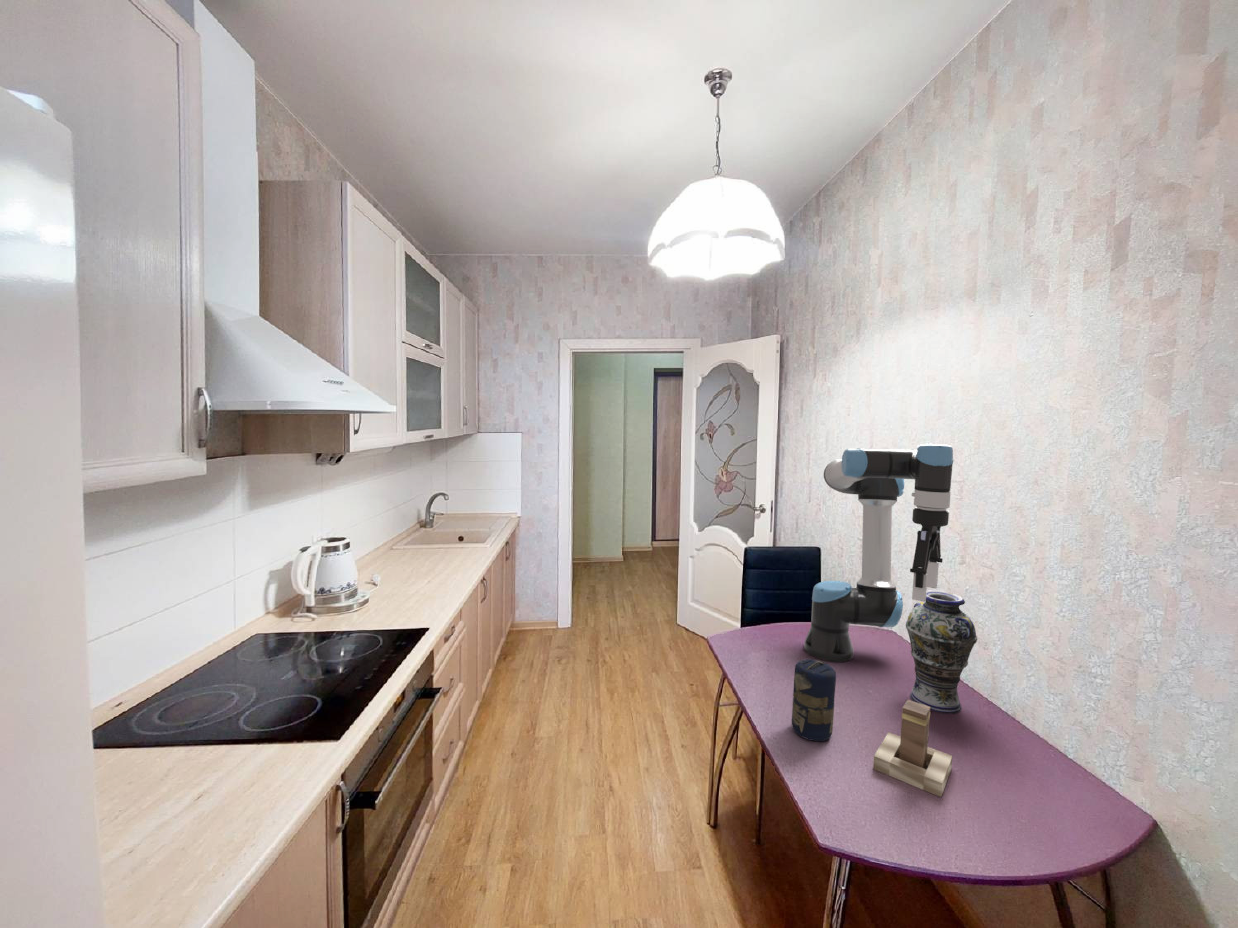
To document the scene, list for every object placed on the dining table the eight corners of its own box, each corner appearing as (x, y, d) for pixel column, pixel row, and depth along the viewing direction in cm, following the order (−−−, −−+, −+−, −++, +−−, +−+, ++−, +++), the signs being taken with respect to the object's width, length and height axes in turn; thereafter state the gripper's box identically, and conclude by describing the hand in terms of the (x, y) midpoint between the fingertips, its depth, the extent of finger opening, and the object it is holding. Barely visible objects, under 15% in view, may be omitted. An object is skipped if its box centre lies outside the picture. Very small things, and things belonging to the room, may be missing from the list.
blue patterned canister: (783, 725, 132) (786, 656, 130) (814, 718, 135) (817, 651, 134) (808, 747, 123) (812, 673, 121) (841, 740, 126) (845, 668, 125)
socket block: (887, 744, 125) (888, 732, 125) (951, 768, 116) (952, 755, 116) (873, 768, 116) (873, 755, 116) (941, 797, 107) (942, 783, 107)
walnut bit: (903, 758, 119) (907, 699, 118) (926, 767, 116) (930, 706, 115) (898, 768, 116) (902, 707, 115) (921, 777, 113) (926, 715, 112)
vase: (943, 724, 134) (952, 610, 131) (886, 691, 149) (893, 589, 147) (987, 712, 140) (996, 602, 137) (927, 682, 156) (934, 583, 153)
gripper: (924, 500, 139) (918, 579, 141) (901, 512, 120) (895, 602, 122) (957, 504, 134) (951, 585, 136) (938, 516, 115) (932, 610, 117)
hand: (924, 593), depth 129 cm, fingers open, 13 cm apart
